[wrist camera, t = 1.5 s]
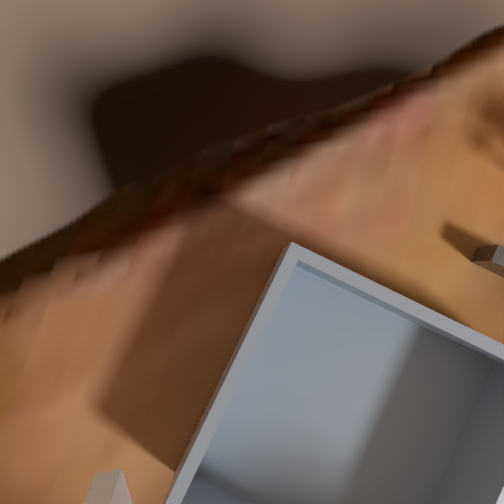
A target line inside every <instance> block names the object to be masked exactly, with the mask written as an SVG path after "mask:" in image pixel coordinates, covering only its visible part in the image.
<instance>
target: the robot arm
mask: <svg viewBox="0 0 504 504" xmlns="http://www.w3.org/2000/svg"><path fill="white" fill-rule="evenodd" d="M84 504H132V501H131V497H130V494H129V491H128V487H127V484H126V481H125V478H124V474H123V471H122V469H117V470H113V471H108V472H103V473H99V474H96V475H95V477H94V480H93V482H92V485H91V487H90V490H89V492H88V494H87V497H86V499H85V502H84Z"/></svg>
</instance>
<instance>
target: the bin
mask: <svg viewBox="0 0 504 504" xmlns="http://www.w3.org/2000/svg"><path fill="white" fill-rule="evenodd" d="M163 504H504V345H503V344H501V343H499V342H497V341H495V340H493V339H491V338H489V337H487V336H485V335H483V334H481V333H479V332H477V331H475V330H473V329H471V328H468V327H466V326H464V325H462V324H460V323H458V322H456V321H454V320H452V319H450V318H448V317H446V316H444V315H442V314H440V313H438V312H435V311H433V310H431V309H429V308H427V307H425V306H423V305H421V304H419V303H417V302H415V301H413V300H411V299H409V298H407V297H405V296H403V295H400V294H398V293H396V292H394V291H392V290H390V289H388V288H386V287H384V286H382V285H380V284H378V283H376V282H374V281H372V280H370V279H367V278H365V277H363V276H361V275H359V274H357V273H355V272H353V271H351V270H349V269H347V268H345V267H343V266H341V265H339V264H337V263H335V262H332V261H330V260H328V259H326V258H324V257H322V256H320V255H318V254H316V253H314V252H312V251H310V250H308V249H306V248H304V247H302V246H300V245H297V244H295V243H293V242H291V243H289V244H288V245H287V246H285V247H284V248H283V250H282V252H281V254H280V256H279V258H278V260H277V262H276V264H275V266H274V268H273V270H272V273H271V275H270V277H269V279H268V281H267V283H266V285H265V287H264V289H263V291H262V293H261V295H260V297H259V299H258V301H257V304H256V306H255V308H254V310H253V312H252V314H251V316H250V318H249V320H248V322H247V324H246V326H245V328H244V330H243V332H242V335H241V337H240V339H239V341H238V343H237V345H236V347H235V349H234V351H233V353H232V355H231V357H230V359H229V361H228V363H227V366H226V368H225V370H224V372H223V374H222V376H221V378H220V380H219V382H218V384H217V386H216V388H215V390H214V392H213V394H212V397H211V399H210V401H209V403H208V405H207V407H206V409H205V411H204V413H203V415H202V417H201V419H200V421H199V423H198V425H197V428H196V430H195V432H194V434H193V436H192V438H191V440H190V442H189V444H188V446H187V448H186V450H185V452H184V454H183V457H182V459H181V461H180V463H179V465H178V467H177V469H176V471H175V473H174V476H173V479H172V481H171V484H170V487H169V489H168V492H167V495H166V497H165V500H164V503H163Z"/></svg>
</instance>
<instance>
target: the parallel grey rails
mask: <svg viewBox="0 0 504 504" xmlns="http://www.w3.org/2000/svg"><path fill="white" fill-rule="evenodd" d="M472 262H473V263H475V264H477V265H479V266H481V267H483V268H485V269H488V270H490V271H492V272H494V273H496V274H498V275H500V276H502V277H504V247H502V246H500V245H493V246H485V247H478V249H477V251H476V253H475V255H474V257H473V259H472Z"/></svg>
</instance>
